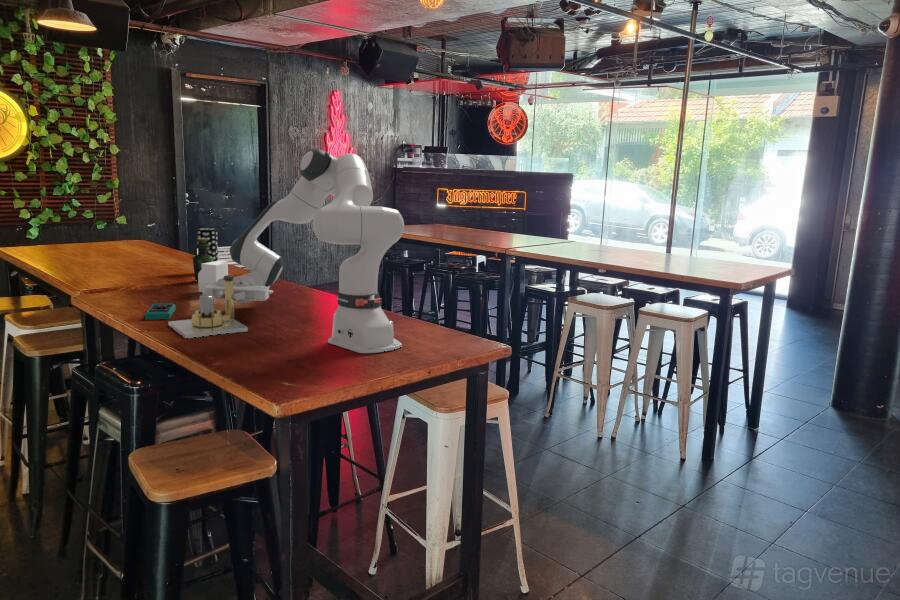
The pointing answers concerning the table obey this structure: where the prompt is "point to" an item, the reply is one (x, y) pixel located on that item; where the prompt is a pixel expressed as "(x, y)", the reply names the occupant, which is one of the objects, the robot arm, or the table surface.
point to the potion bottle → (201, 256)
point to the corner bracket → (211, 273)
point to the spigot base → (193, 331)
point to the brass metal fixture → (217, 316)
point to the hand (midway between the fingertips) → (227, 297)
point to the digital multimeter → (160, 311)
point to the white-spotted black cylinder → (209, 241)
